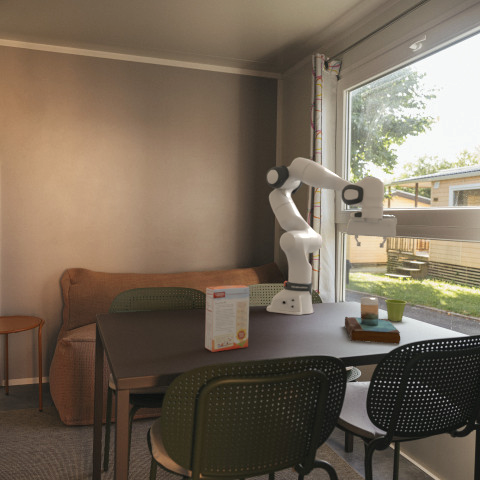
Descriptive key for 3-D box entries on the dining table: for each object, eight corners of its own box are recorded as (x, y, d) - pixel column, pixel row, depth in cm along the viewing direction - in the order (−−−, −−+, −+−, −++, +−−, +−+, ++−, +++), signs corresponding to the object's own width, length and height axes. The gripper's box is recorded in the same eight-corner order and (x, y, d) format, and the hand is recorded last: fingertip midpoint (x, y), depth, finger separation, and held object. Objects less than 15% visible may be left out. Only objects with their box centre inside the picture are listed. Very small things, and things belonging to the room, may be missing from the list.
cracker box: (239, 343, 158) (241, 284, 157) (248, 347, 153) (250, 286, 152) (203, 347, 151) (205, 285, 150) (211, 352, 146) (214, 288, 145)
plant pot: (407, 323, 200) (408, 303, 200) (385, 321, 202) (386, 302, 202) (404, 318, 209) (405, 300, 209) (382, 317, 211) (383, 298, 211)
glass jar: (361, 325, 174) (361, 299, 174) (360, 321, 181) (360, 296, 181) (379, 325, 173) (379, 299, 173) (377, 321, 180) (377, 296, 179)
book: (344, 328, 190) (345, 316, 189) (387, 331, 188) (388, 319, 187) (351, 342, 167) (352, 329, 167) (400, 346, 165) (401, 332, 165)
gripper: (396, 215, 192) (394, 247, 193) (347, 213, 196) (345, 245, 197) (398, 215, 186) (396, 248, 187) (347, 213, 190) (346, 246, 191)
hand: (369, 246), depth 192 cm, fingers open, 8 cm apart
